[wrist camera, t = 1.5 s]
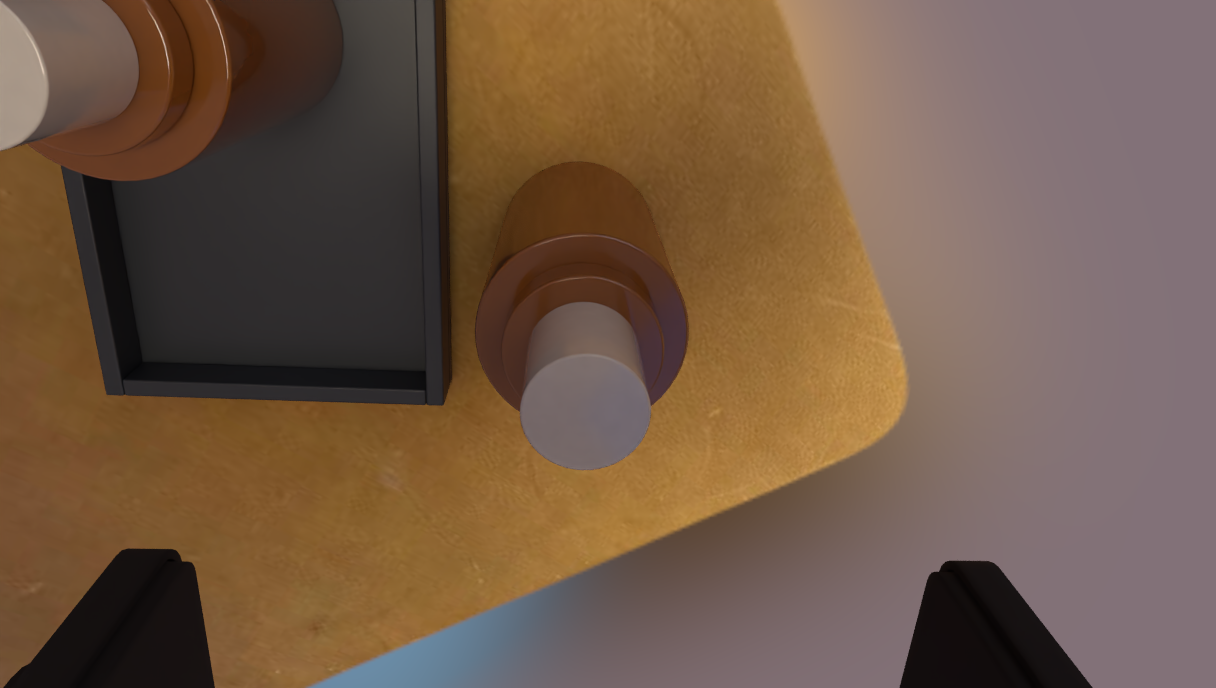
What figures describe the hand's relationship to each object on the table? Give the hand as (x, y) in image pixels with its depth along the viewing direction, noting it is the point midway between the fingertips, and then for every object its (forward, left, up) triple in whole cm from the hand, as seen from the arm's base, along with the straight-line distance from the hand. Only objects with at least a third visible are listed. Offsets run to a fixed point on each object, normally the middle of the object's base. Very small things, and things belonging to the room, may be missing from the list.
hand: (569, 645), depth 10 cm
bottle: (+10, -6, -19) cm, 22 cm away
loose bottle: (0, 0, -19) cm, 19 cm away
